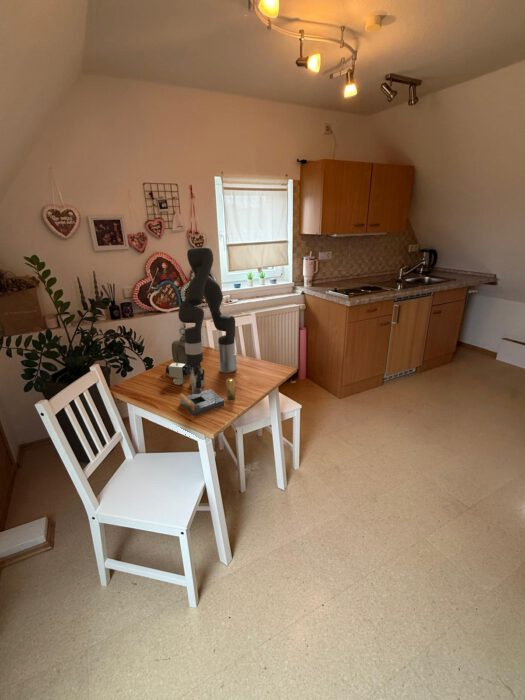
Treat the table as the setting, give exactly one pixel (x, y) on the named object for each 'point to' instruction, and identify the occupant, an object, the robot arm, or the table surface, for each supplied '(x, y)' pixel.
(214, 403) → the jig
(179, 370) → the pneumatic valve
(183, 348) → the olive green lantern
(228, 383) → the brass bushing
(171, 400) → the table surface
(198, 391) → the translucent grey cylinder
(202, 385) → the skincare box
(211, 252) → the robot arm
